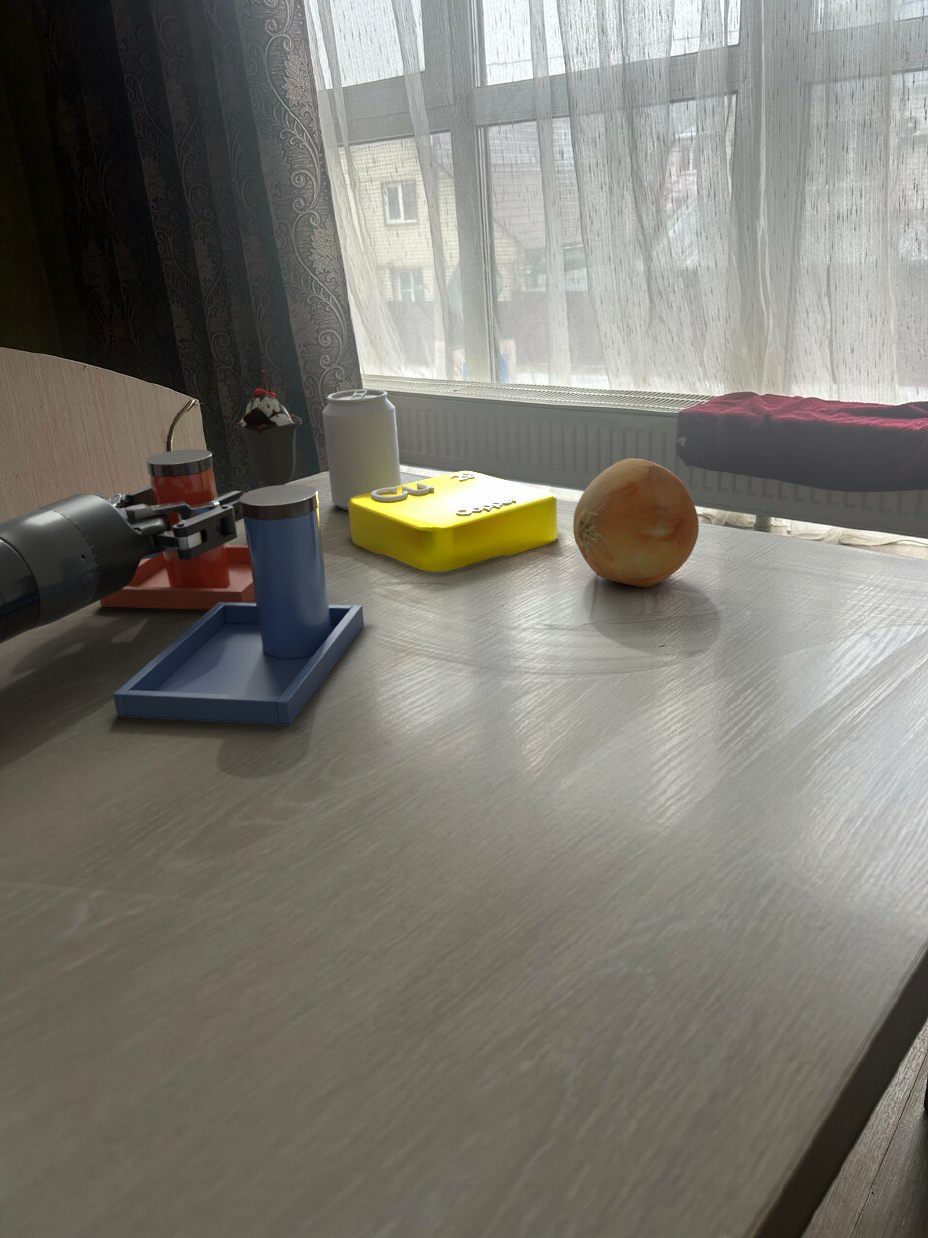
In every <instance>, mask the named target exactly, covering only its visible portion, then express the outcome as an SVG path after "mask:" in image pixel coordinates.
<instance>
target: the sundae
mask: <svg viewBox="0 0 928 1238" xmlns="http://www.w3.org/2000/svg"><path fill="white" fill-rule="evenodd" d="M260 373H261V375H262V382H261V385H260V386H259V387H258V388H256V389H254V390H253V391H254V392H253V393H254V395H253V397H252V398H251V399H250V400H249V401H248V402H247V406H246V408H245V413H243V415H242V416H241V418H240V419H241V420H240V421H238V422H237V423H236V425H235V426H234V428H235V429H237V430H239V431H240V432H241V434H242V437H243V439H244V441H245V444H246V449H247V453H248V455H249V459H250V463H251V466H252V469H253V472H254V474H255V477H256V478H258V479H259V481H261V482H262V484H265V485H267V487H269V486H277V485H287V484H286V483H288V482H289V481H290V480H291V478H292V477H293V475H294V474H295V466H296V435H297V428H299V427H300V426H302V425H303V420H302V418H301V417H300V416H297V415H295V414H294V413H292V414H289V412H288V411H287V409H286V408H285V407H284V405H282V404H281V403H280V402H279V401H278V400H277V399H276V394H275V393H274V392H272V389H271V385H270V383H269V380H268V378H267V377H266V375H265V374H266V373H267V372H266V370H265V369H261V370H260ZM265 381H266V385H267V388H268V391H266V390H265V389H264V388H263V386H264V383H265Z"/></svg>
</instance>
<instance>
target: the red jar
mask: <svg viewBox="0 0 928 1238" xmlns="http://www.w3.org/2000/svg"><path fill="white" fill-rule="evenodd" d="M144 462H145V468H146V473H147V475H148V476H149V482H150V485H151V488H152V494H153V499H154V505H158V504H164V503H169V502H175V501H184V502H185V503H186V504H187V505H195V504H201V503H206V502H208V501H212V500H214V499H217V498H219V497H218V491H217V485H216V479H215V478H216V477H215V472H214V467H215V466H214V457H213V452H211V451H209V450H207V449H197V448H196V449H195V448H192V449H190V448H189V449H178V450H171V451H165V452H160V453H155V454H153V455H151V456H148V457H147V458H146V459H145V461H144ZM200 514H202V513H200ZM200 514H195V515H193V516H192V517H195V516H197V515H200ZM168 515H169V518H170V523H171V529H172V531H173V528H172V526H173V525H175V524H177V523H179V518H178V513H176V512H173V513H168ZM225 545H226V543H224V544H222V545H220V546H218V547H216V548H213V549H211V550H209V551H207V552H205V553H202V554H200V555H198V556H196V557H193V558H191V559H189V560H180V559H178V556H177V550H172V551H167V552H163V554H164V559H165V565H166V570H167V576H168V581H169V587H173V588H219V589H223V588H225V587H226V586H228V585H229V584H230V581H231V580H230V573H229V567H228V561H227V554H226V548H225Z"/></svg>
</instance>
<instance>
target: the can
mask: <svg viewBox="0 0 928 1238" xmlns="http://www.w3.org/2000/svg"><path fill="white" fill-rule="evenodd" d="M388 395H389V393H388V392H387V391H386V390H383V389H368V388H367V389H364V388H363V389H349V390H342V391H337V392H334V393H330V394H329V395H328V396H326V399H327V401H328V403H327V404H326V406H325V407H324V409H323V410H322V412H321V413H322V422H323V430H324V440H325V448H326V458H327V466H328V475H329V485H330V494H331V501H332V503H333V504H335V505H336V506H337V507H338V508H340V509H342V510H344V511H348V512H349V507H348V501H349V500H350V499H351V498H352V497H354V496H358V495H362V494H366V493H370V492H372V491H374V490H377V489H381V488H392V487H396V486H400V485H402V477H401V465H400V453H399V441H398V428H397V427H398V426H397V416H396V415H397V414H396V406H395V405H394V404H393V403H392V402H391V401H390V400H389V399H388V398H387V396H388Z"/></svg>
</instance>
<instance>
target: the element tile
mask: <svg viewBox="0 0 928 1238" xmlns="http://www.w3.org/2000/svg"><path fill="white" fill-rule="evenodd" d="M557 503H558V501H557V496H556V495H555V494H553V493H552V492H549V491H545V490H543V489H538V488H534V487H531V486H527V485H523V484H520V483H516V482H512V481H508V480H504V479H501V478H497V477H493V476H490V475H487V474H483V473H478V472H474V471H470V470H461V471H457V472H452V473H447V474H444V475H439V476H434V477H430V478H426V479H422V480H417V481H414V482H409V483H405V484H401V485H400V486H396V487H392V488H381V489H377V490H374V491H372V492H370V493H366V494H362V495H358V496H354V497H352V498H351V499H350V500H349V501H348V507H349V511H348V514H349V515H348V517H349V524H350V525H349V526H350V533H351V535H350V536H351V541H352V543H353V545H355V546H357V547H360V548H362V549H364V550H366V551H369V552H371V553H373V554H375V555H378V554H379V555H385V556H387V557H389V558H392V559H394V560H396V561H399V562H401V563H404V564H407V566H408V565H409V566H411V567H413V568H415V569H418V570H420V571H423V572H424V571H425V572H434V573H435V572H437V573H438V572H446V571H447V572H448V571H452V570H456V569H460V568H462V567H465V566H469V565H473V564H475V563H479V562H483V561H487V560H489V559H493V558H496V557H500V556H514V555H516V554H521V553H524V552H527V551H530V550H533V549H536V548H540V547H543V546H546V545H550V544H552V543H554V542H555V541H556V540H557V538H558V509H557V508H558V507H557Z"/></svg>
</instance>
